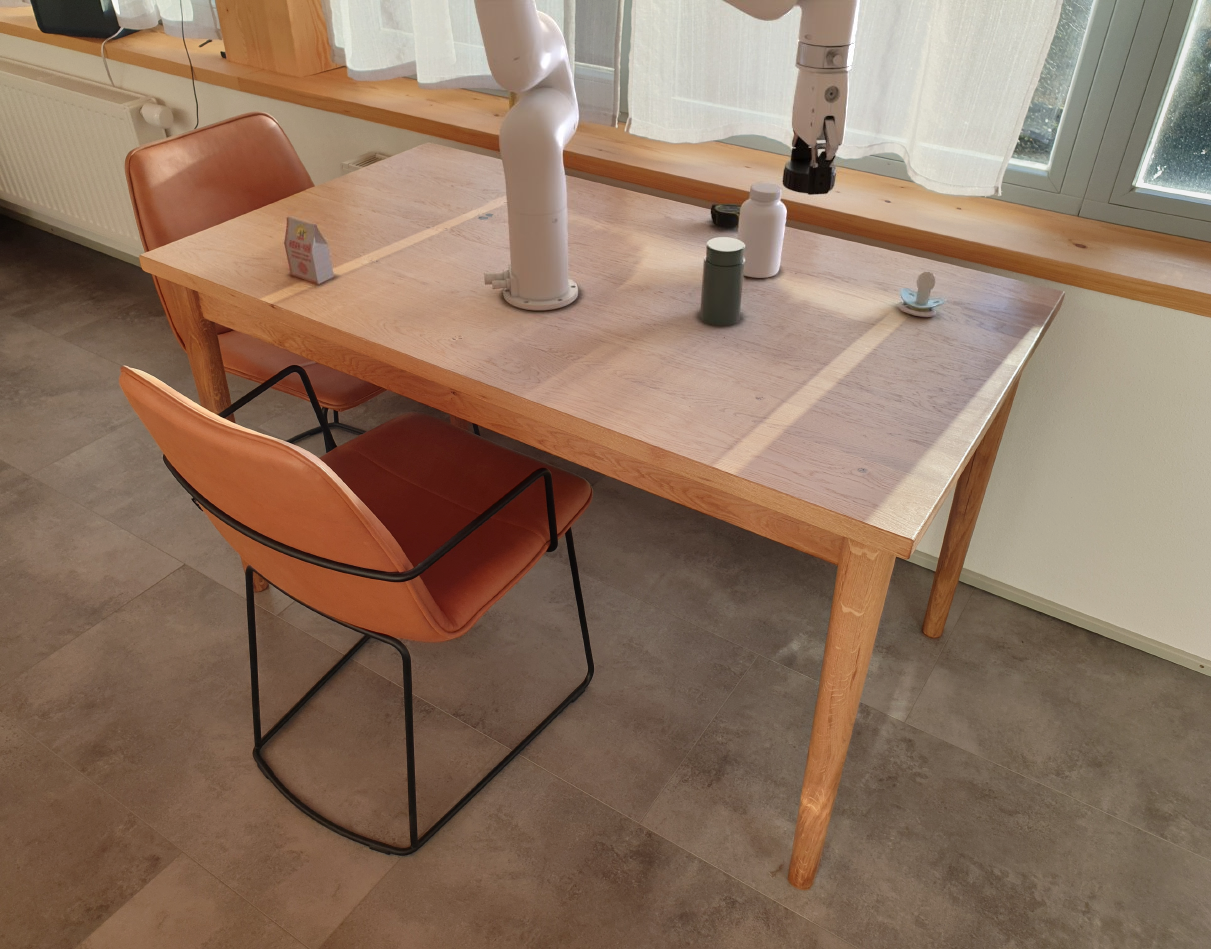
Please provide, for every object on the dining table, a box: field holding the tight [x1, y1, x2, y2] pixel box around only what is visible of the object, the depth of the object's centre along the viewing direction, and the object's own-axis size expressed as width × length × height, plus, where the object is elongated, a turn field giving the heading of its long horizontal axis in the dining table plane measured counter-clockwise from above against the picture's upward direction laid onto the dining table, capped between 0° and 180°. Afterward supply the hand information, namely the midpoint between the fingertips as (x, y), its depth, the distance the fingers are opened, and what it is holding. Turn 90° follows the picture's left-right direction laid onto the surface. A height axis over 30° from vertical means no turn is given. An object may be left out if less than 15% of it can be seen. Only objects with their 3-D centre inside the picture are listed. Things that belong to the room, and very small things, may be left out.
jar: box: [699, 236, 745, 327], centre depth 148 cm, size 6×6×12 cm
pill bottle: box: [736, 181, 788, 279], centre depth 162 cm, size 8×8×15 cm
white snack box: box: [283, 216, 335, 285], centre depth 161 cm, size 4×7×10 cm, turn 58°
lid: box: [782, 158, 837, 194], centre depth 137 cm, size 8×8×3 cm
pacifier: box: [896, 271, 947, 318], centre depth 152 cm, size 7×6×6 cm
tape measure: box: [710, 203, 742, 230], centre depth 182 cm, size 7×7×4 cm
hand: (808, 183), depth 138 cm, fingers closed on lid, 7 cm apart
